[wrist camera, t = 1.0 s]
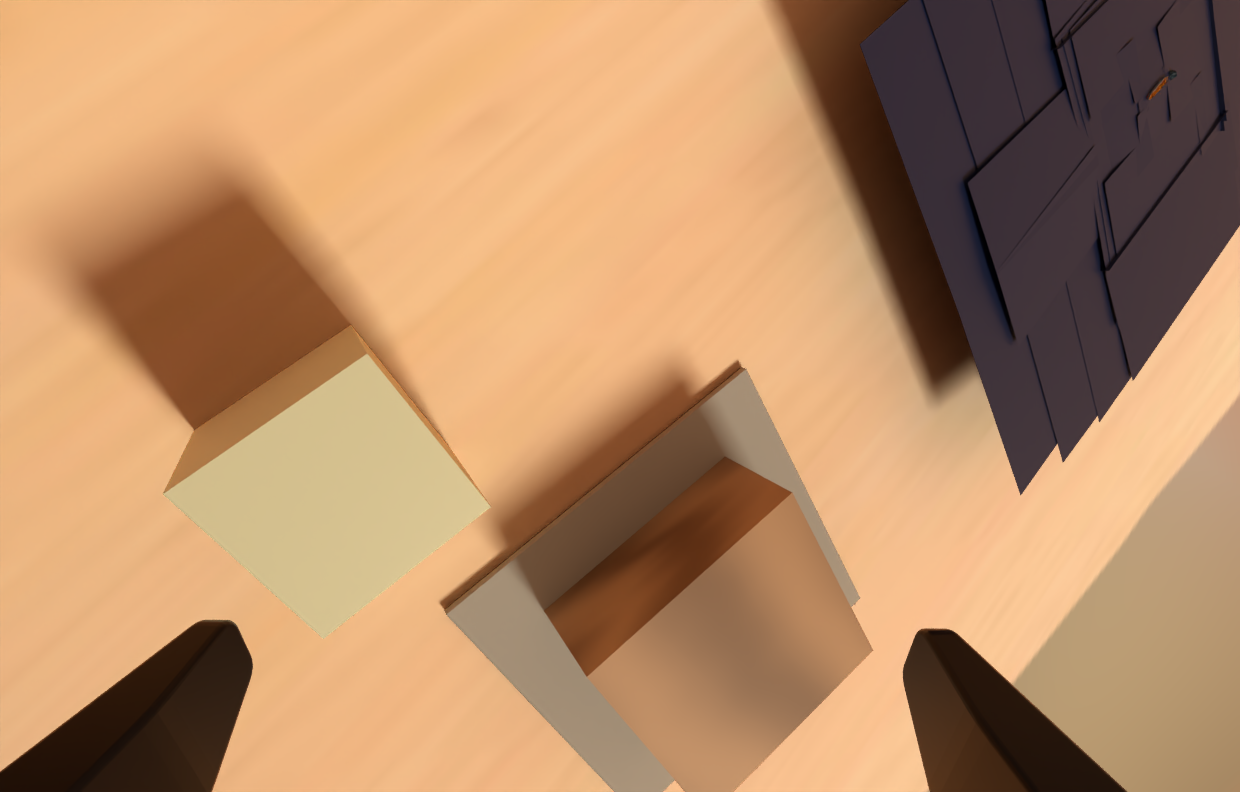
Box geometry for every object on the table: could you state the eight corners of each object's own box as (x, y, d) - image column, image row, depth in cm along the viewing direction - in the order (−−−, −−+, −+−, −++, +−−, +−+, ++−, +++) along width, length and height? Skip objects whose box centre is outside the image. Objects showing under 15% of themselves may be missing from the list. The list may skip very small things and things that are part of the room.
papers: (770, 13, 21) (862, -32, 18) (1166, -297, 31) (1272, -362, 28) (972, 505, 32) (1051, 529, 29) (1219, 167, 41) (1300, 158, 38)
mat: (634, 810, 28) (637, 816, 28) (444, 609, 22) (446, 614, 22) (855, 595, 32) (860, 598, 31) (741, 367, 26) (746, 369, 25)
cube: (317, 549, 20) (323, 639, 16) (195, 429, 18) (162, 494, 14) (450, 449, 21) (490, 506, 17) (350, 324, 19) (366, 353, 15)
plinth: (655, 743, 28) (707, 818, 24) (543, 610, 24) (586, 676, 20) (805, 600, 30) (873, 650, 26) (724, 456, 26) (792, 492, 22)
